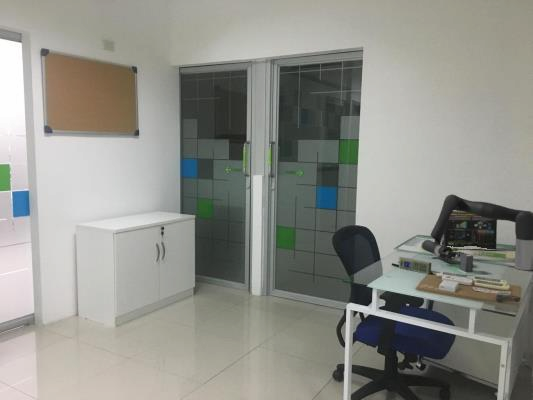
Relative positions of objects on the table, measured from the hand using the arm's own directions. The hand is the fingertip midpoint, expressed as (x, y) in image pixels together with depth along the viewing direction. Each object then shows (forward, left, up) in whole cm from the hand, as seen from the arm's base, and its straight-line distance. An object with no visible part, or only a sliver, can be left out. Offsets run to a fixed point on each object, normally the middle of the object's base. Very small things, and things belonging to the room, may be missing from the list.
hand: (458, 257), depth 260 cm
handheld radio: (+24, -13, -7) cm, 28 cm away
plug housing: (+3, +8, -6) cm, 10 cm away
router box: (-60, -38, -7) cm, 71 cm away
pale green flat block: (+1, +2, -7) cm, 7 cm away
